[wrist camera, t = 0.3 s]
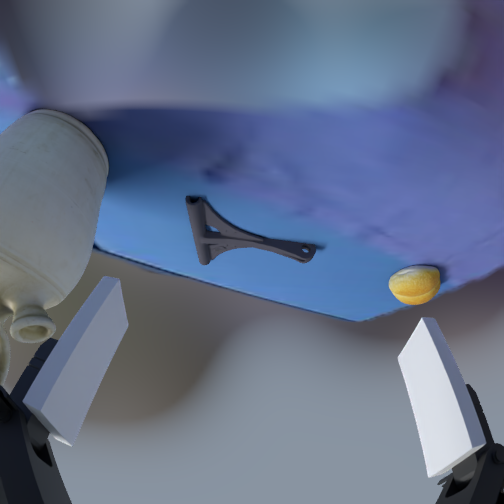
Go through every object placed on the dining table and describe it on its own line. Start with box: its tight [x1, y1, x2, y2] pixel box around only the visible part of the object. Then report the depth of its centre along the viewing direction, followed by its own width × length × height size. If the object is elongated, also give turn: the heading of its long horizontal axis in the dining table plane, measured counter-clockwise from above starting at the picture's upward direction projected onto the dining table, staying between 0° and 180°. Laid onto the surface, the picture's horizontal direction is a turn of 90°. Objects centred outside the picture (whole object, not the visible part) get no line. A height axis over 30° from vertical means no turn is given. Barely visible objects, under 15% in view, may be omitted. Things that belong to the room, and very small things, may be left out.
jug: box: [0, 109, 109, 386], centre depth 19 cm, size 15×16×25 cm
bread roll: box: [389, 265, 440, 305], centre depth 40 cm, size 8×9×4 cm
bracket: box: [186, 196, 316, 265], centre depth 36 cm, size 14×15×3 cm
